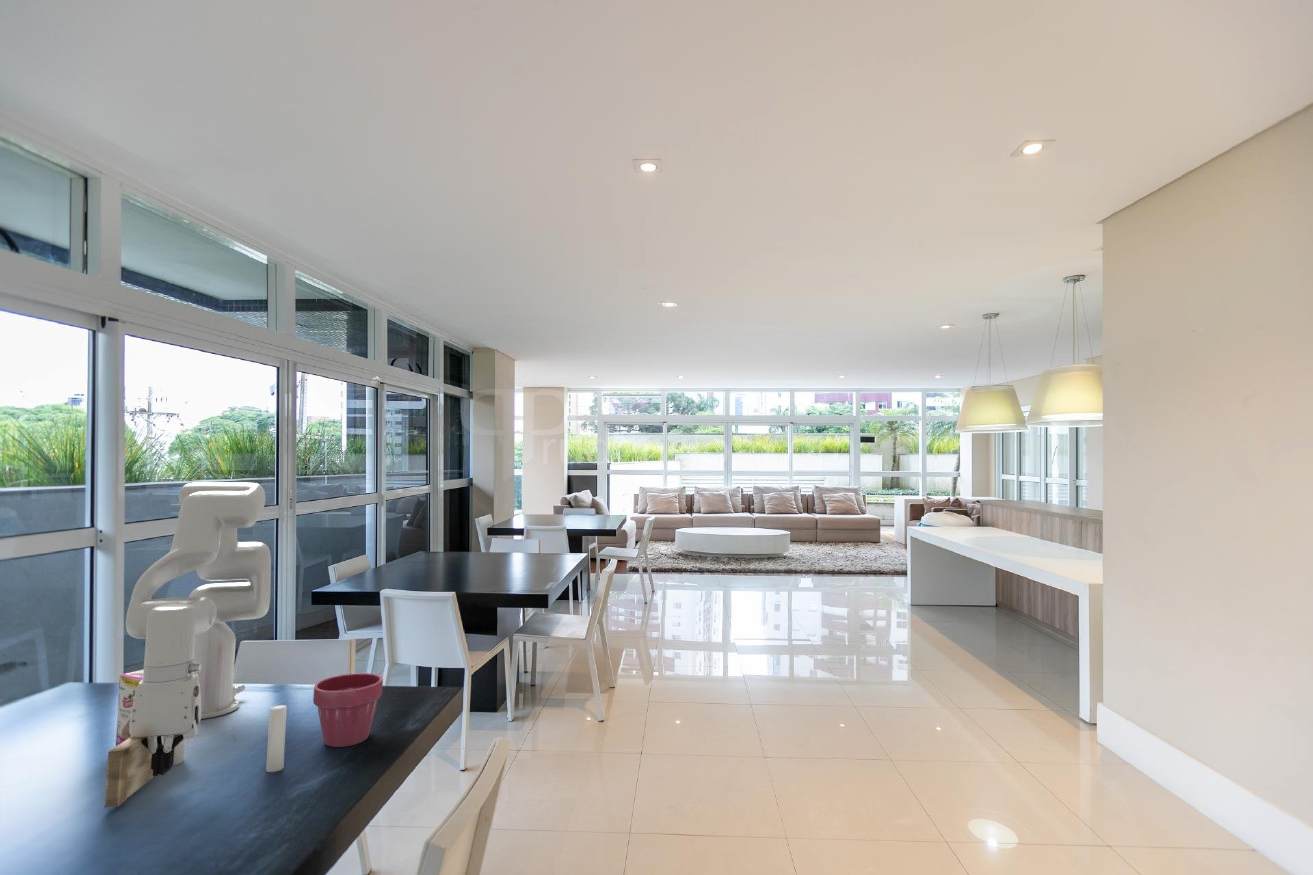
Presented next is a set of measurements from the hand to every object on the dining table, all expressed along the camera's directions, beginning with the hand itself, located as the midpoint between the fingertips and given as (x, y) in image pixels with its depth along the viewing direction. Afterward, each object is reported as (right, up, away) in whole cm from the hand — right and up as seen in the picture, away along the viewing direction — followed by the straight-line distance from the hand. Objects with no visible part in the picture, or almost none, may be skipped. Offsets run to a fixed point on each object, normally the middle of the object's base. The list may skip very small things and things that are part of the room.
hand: (161, 772), depth 119 cm
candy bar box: (-17, -5, +16) cm, 24 cm away
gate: (-5, -3, +1) cm, 6 cm away
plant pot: (+22, -6, +25) cm, 34 cm away
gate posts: (+4, -4, +11) cm, 13 cm away
